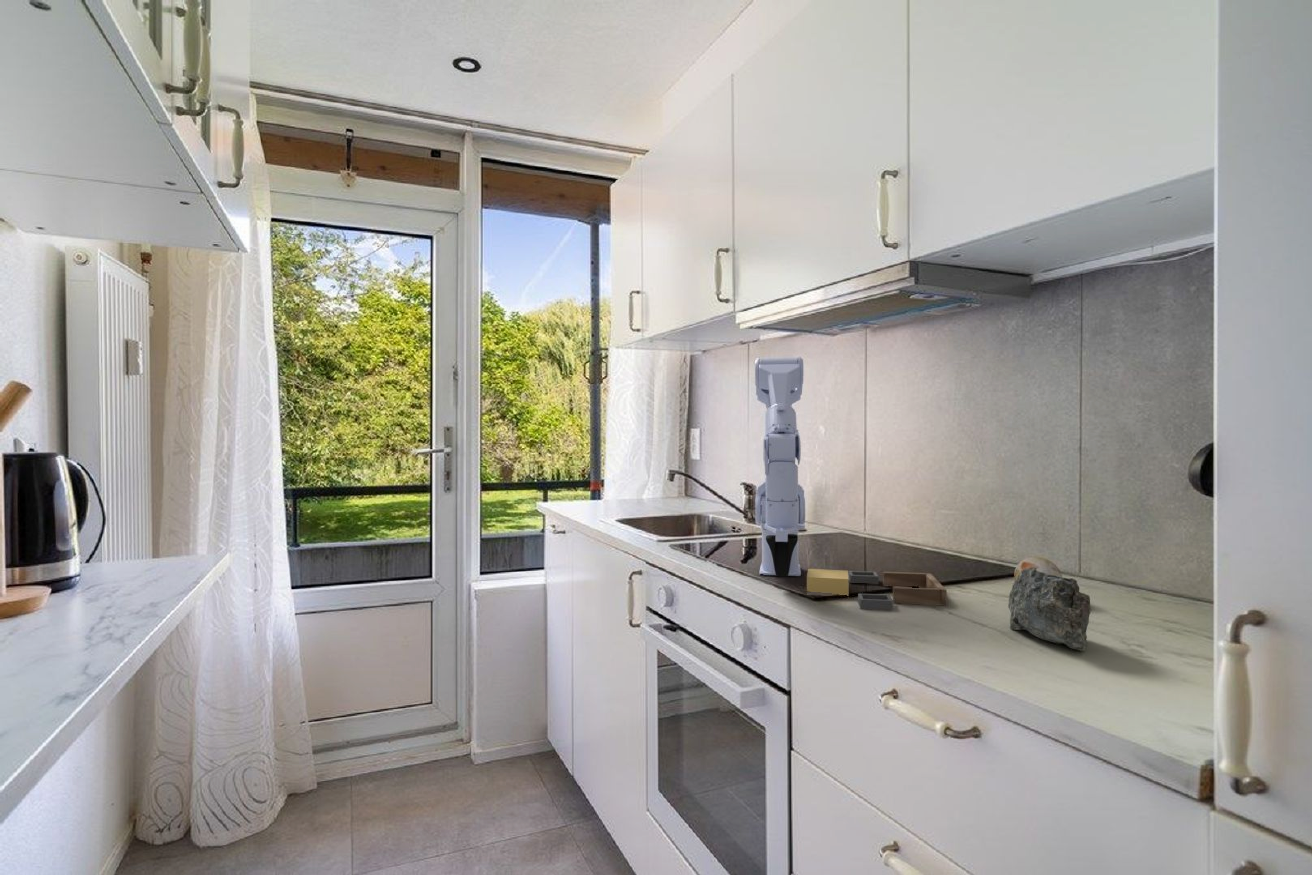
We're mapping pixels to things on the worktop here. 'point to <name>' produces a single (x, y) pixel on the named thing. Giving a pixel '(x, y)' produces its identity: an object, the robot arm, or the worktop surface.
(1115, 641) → the worktop surface
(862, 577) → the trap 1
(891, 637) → the worktop surface
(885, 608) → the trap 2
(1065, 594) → the rock
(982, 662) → the worktop surface
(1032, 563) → the cream rounded piece
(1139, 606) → the worktop surface
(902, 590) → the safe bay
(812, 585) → the block
